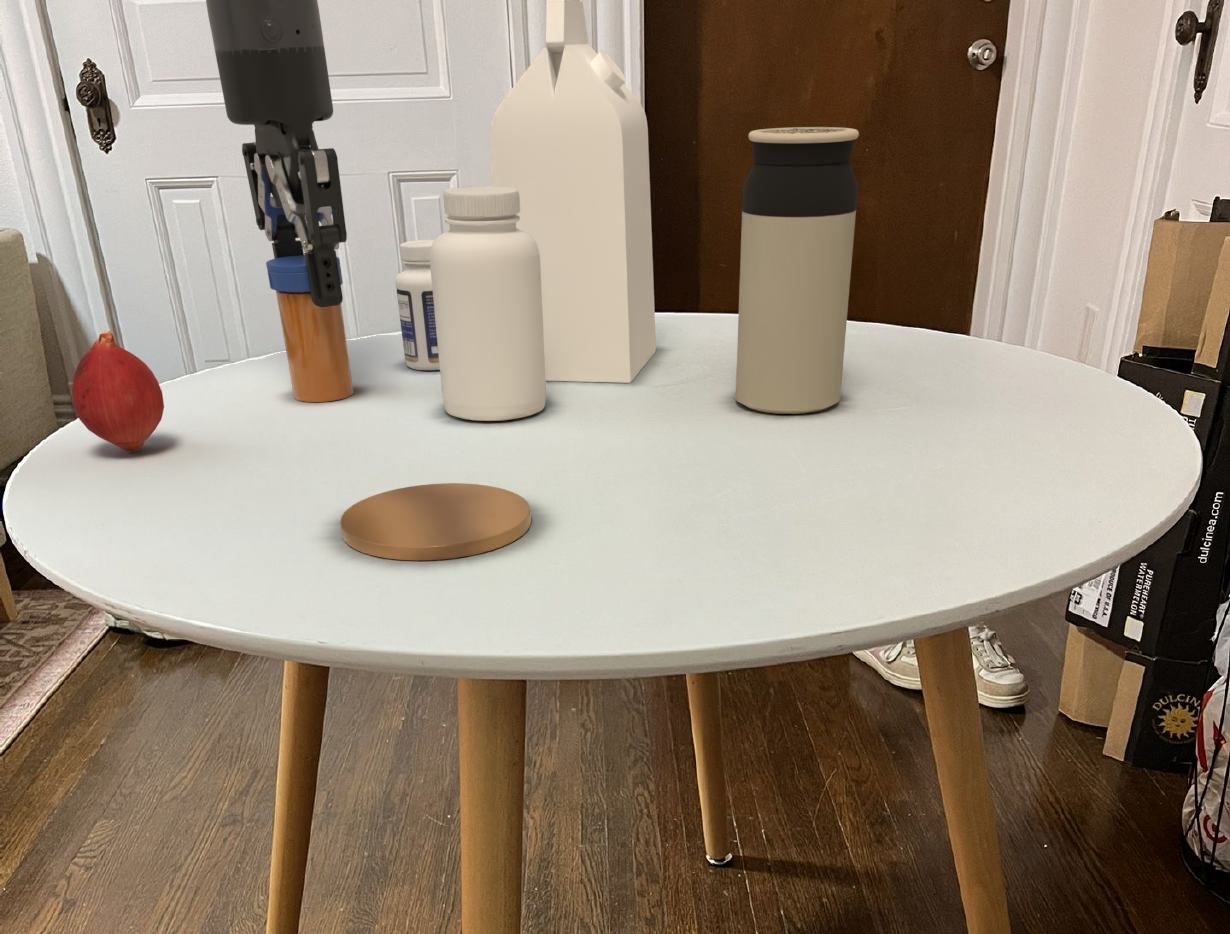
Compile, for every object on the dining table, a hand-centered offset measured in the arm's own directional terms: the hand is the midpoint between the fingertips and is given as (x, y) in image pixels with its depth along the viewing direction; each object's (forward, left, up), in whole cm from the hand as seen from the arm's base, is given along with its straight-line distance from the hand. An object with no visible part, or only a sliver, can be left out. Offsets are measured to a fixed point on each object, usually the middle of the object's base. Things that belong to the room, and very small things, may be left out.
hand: (311, 298), depth 90 cm
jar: (0, 0, -7) cm, 7 cm away
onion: (-17, -7, -7) cm, 20 cm away
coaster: (-6, -34, -7) cm, 35 cm away
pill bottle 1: (+12, +4, -7) cm, 15 cm away
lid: (0, 0, +2) cm, 2 cm away
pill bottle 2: (+9, -13, -7) cm, 17 cm away
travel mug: (+28, -25, -7) cm, 38 cm away
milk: (+22, -4, -7) cm, 23 cm away
